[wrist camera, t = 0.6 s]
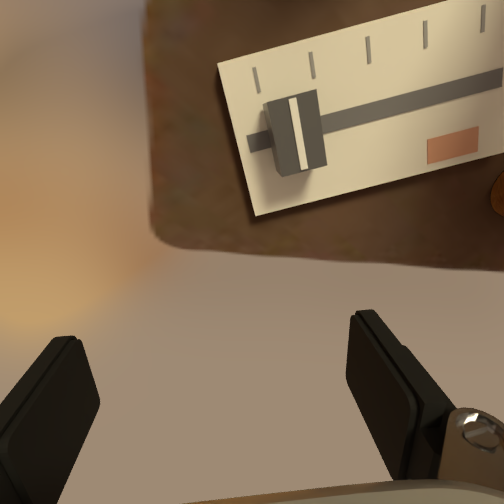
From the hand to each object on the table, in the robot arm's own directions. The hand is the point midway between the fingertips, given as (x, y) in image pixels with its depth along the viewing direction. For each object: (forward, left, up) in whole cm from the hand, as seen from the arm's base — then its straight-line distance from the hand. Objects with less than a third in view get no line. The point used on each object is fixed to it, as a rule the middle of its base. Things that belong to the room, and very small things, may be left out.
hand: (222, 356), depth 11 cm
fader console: (-16, -5, -24) cm, 29 cm away
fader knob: (-8, -5, -22) cm, 24 cm away
